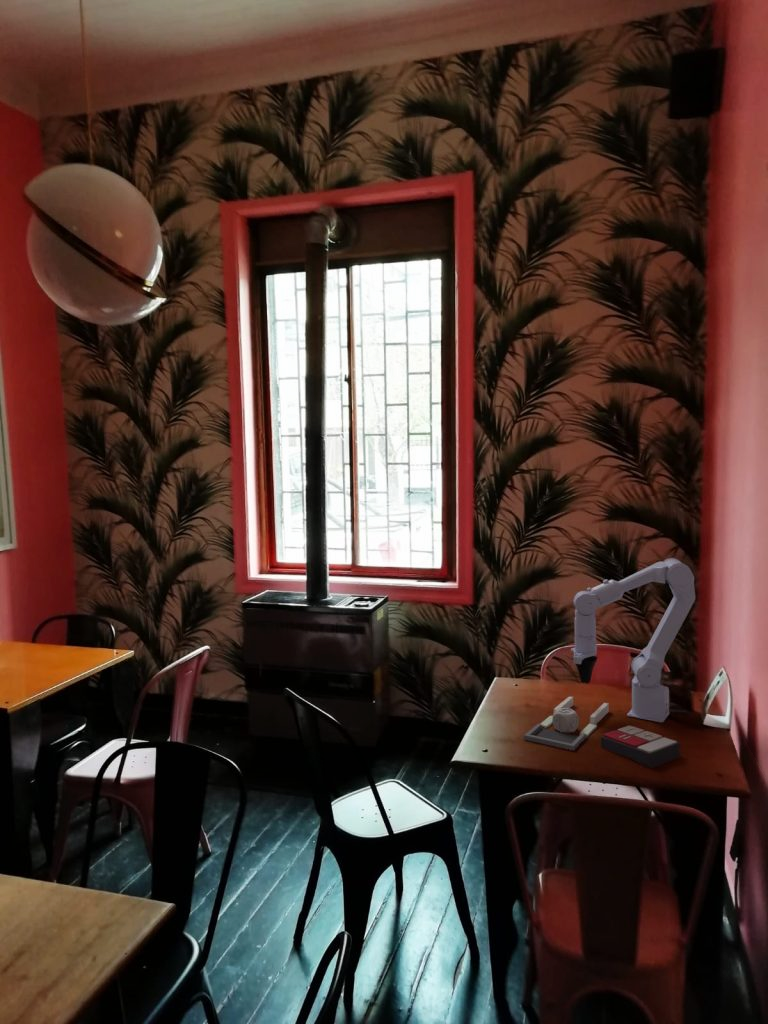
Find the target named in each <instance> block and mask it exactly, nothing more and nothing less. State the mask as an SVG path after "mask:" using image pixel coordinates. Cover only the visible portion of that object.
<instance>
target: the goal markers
mask: <svg viewBox="0 0 768 1024" xmlns="http://www.w3.org/2000/svg"><path fill="white" fill-rule="evenodd" d="M552 718H553V715H549V716H548V717H547V718H546V719H544V720H543V721H542V722H541V723H540V724H542V728H543V727H544V728H543V729H548V728H549V727H550V726H551V725H553V722H552ZM547 727H548V728H547ZM597 728H598V725H597V724H596V725H594V724H590V723H588V724H587V725H586V726H585V727H584V728H583V729H582V730H581V731H580V732H579V736H580V735H581V734H582V733H585V734H586V738H588V737H589V736H590V735H591V734H592V733H593V732H594V731H595V730H596V729H597Z"/></svg>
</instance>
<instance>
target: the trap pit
mask: <svg viewBox="0 0 768 1024" xmlns="http://www.w3.org/2000/svg"><path fill="white" fill-rule="evenodd" d="M523 737H524V738H523V739H524V741H529V742H534V743H538V744H542V745H545V746H551V747H554V746H555V748H559V749H563V748H564V749H565V750H568V749H569V750H568V751H572V750H573V752H574V751H575V750H576V749H577V748H578V747H579V746H580V745H581V744H582V743H583V742H584V741H585V740H586V739H587V737H586V734H585V733H582V734H581V735H580V734H579V735H575V734H570V733H563V732H559V731H557V730H552V729H548V728H543V727H542V724H541V723H537V724H536V725H534V726H533V727H532V728H530V730H529V731H527V732H526V733H525V734H524V735H523ZM584 739H585V740H584ZM581 742H582V743H581ZM580 743H581V744H580ZM579 744H580V745H579Z"/></svg>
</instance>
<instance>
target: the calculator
mask: <svg viewBox="0 0 768 1024" xmlns="http://www.w3.org/2000/svg"><path fill="white" fill-rule="evenodd" d="M680 744H681V743H680V742H678V741H677V740H675V739H670V738H667V737H665V736H664V737H663V735H661V734H657V733H654V732H651V731H649V730H646V731H645V729H641V728H639V727H636V726H634V725H627V726H622V727H621V728H618V729H617V730H616V729H615V730H612V731H608V732H606V733H603V734H602V735H601V736H600V747H601V746H602V747H601V748H603V747H604V748H603V749H605V748H606V749H605V750H607V749H608V751H610V752H612V751H613V752H612V753H614V752H615V754H617V753H618V754H617V755H619V754H620V755H619V756H622V757H624V756H625V758H627V759H630V760H633V761H634V762H635V763H637V762H638V764H640V765H642V766H645V767H647V768H650V769H654V768H655V767H658V766H661V765H663V764H665V763H668V761H669V762H670V761H674V760H675V759H679V758H681V749H680V747H681V746H680Z"/></svg>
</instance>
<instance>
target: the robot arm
mask: <svg viewBox="0 0 768 1024" xmlns="http://www.w3.org/2000/svg"><path fill="white" fill-rule="evenodd" d="M652 582H653V583H660V584H666V583H667V584H668V585H669V588H670V590H671V593H672V595H673V597H672V599H671V601H670V603H669V605H668V607H667V608H666V610H665V612H664V613H663V616H662V618H661V620H660V621H659V624H658V625H657V628H656V629H655V631H654V633H653V634H652V637H651V638H650V640H649V641H648V644H647V646H645V647H643V649H641V652H640V653H639V654H638V655H637V656H635V657H634V658H633V660H631V661H632V662H631V664H630V666H631V670H632V672H633V674H634V676H633V678H632V680H631V709H630V710H629V712H627V714H626V716H627V717H630V718H631V717H632V718H637V719H640V720H641V719H642V720H645V721H646V720H647V721H652V722H657V723H664V722H665V720H666V719H667V718H668V716H669V715H670V689H669V687H668V686H666V685H665V686H664V685H663V684H661V682H660V681H661V678H662V670H663V667H665V666H664V664H665V659H666V658H665V657H666V654H667V652H668V651H669V649H670V647H671V646H672V644H673V642H674V640H675V638H676V636H677V634H678V632H679V631H680V629H681V627H682V626H683V623H684V621H686V618H687V616H688V614H689V612H690V610H691V609H692V607H693V604H694V603H695V602H696V601H695V600H696V590H695V583H694V582H695V576H694V574H693V572H692V570H691V568H690V567H689V566H688V565H686V564H685V563H683V562H682V561H680V560H679V559H677V558H676V557H675V558H674V557H671V558H665V559H664V560H663V561H657V562H655V563H653V564H651V565H650V566H647V567H645V568H643V569H641V570H639V571H637V572H635V573H633V574H631V575H628V576H627V577H625V578H623V579H620V580H618V581H617V580H615V579H610V580H609V579H603V581H602V583H601V584H598V585H596V586H594V587H592V588H591V587H587V588H586V590H580V591H579V592H577V593H575V595H574V597H573V599H572V604H573V606H574V607H575V610H574V621H573V622H574V647H572V648H570V652H572V653H573V656H572V657H573V659H572V663H573V664H575V666H576V669H577V672H578V674H579V679H580V682H581V683H582V684H587V685H588V684H590V683H591V679H592V675H593V670H594V667H595V665H596V663H597V661H598V656H596V655H597V653H598V644H597V641H596V640H597V628H596V627H597V619H596V611H597V610H598V608H603V607H605V606H607V605H610V604H612V603H614V602H617V601H618V600H621V599H622V598H623V595H624V593H625V592H628V591H630V590H631V591H632V590H633V589H637V588H639V587H641V586H644V585H647V584H649V583H652Z"/></svg>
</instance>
